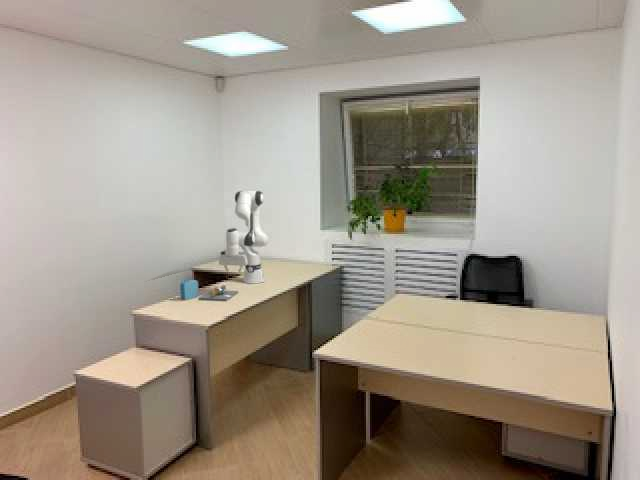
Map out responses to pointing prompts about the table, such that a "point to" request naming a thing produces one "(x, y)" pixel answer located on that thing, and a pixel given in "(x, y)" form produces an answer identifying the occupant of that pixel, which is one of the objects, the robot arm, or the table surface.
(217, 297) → the stand
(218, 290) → the bar with grey ball
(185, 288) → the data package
